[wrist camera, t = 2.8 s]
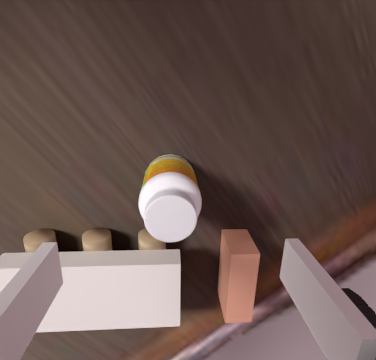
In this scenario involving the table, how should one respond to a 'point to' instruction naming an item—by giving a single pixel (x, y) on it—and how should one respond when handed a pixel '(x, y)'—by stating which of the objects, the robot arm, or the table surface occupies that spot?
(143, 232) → the roller bed
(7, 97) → the table surface
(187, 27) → the table surface
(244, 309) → the block
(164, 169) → the supplement bottle
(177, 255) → the slab
